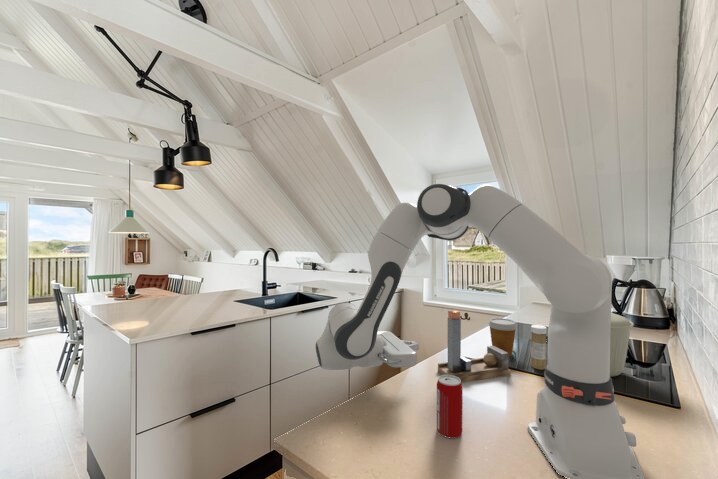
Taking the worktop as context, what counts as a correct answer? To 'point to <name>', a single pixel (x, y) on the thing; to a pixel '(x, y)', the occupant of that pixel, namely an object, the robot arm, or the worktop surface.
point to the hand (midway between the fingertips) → (417, 345)
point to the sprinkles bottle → (538, 346)
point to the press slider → (456, 344)
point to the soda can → (449, 406)
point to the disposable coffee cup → (503, 334)
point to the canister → (618, 343)
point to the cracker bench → (482, 366)
